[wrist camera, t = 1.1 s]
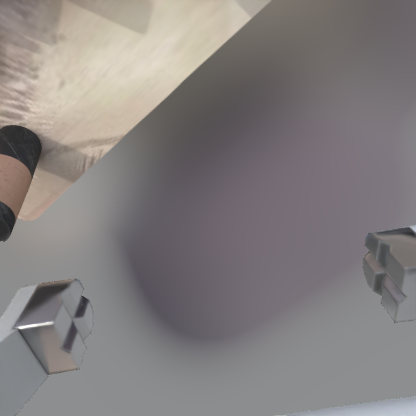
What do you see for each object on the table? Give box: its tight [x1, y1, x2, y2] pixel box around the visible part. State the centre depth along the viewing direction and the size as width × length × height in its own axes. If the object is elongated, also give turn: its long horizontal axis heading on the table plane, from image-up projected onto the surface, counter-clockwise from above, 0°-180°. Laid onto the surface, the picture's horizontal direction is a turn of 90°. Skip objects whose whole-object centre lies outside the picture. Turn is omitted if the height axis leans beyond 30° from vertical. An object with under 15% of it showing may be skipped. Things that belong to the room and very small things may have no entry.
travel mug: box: [0, 125, 41, 242], centre depth 49 cm, size 8×8×20 cm
